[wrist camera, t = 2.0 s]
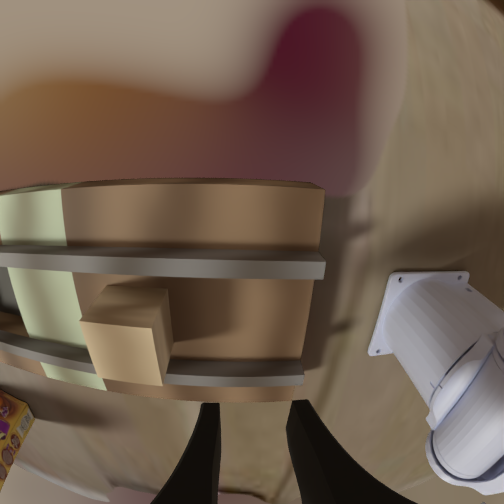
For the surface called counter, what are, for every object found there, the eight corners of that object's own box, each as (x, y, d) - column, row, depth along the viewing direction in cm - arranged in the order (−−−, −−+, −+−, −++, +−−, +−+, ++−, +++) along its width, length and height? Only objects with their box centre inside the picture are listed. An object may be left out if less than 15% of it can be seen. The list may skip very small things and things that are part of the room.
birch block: (167, 288, 16) (151, 328, 12) (173, 342, 18) (162, 386, 14) (106, 285, 16) (79, 320, 12) (117, 337, 17) (98, 377, 14)
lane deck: (310, 182, 17) (334, 194, 13) (286, 375, 23) (294, 414, 19) (-43, 198, 15) (-73, 211, 11) (-5, 339, 21) (-25, 362, 16)
